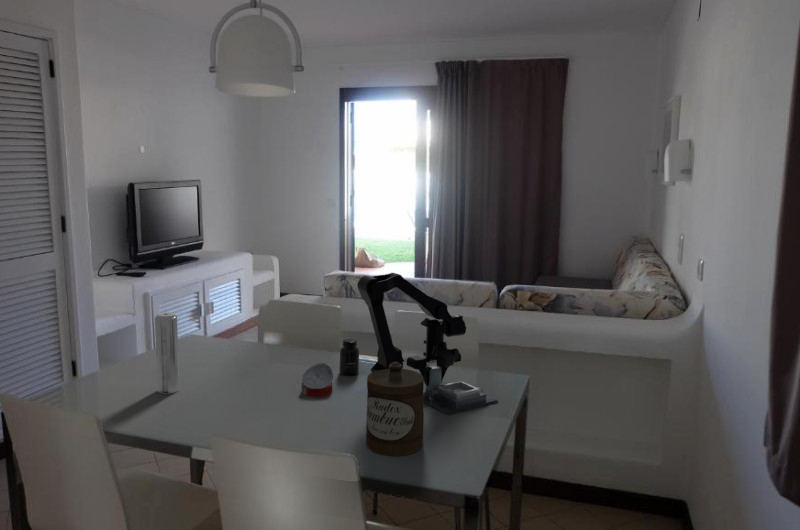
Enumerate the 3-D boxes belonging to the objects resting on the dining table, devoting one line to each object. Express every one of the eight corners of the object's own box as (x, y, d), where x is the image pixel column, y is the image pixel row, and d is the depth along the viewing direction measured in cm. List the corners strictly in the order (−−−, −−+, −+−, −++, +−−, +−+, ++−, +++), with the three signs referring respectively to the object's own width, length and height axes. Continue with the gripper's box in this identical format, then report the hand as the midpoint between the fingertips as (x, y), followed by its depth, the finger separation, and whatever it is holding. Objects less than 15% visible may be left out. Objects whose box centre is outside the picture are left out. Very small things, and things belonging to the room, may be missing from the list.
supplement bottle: (349, 377, 211) (350, 344, 209) (335, 373, 215) (335, 340, 213) (362, 372, 216) (363, 340, 214) (348, 368, 220) (348, 336, 218)
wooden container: (356, 450, 155) (357, 366, 152) (379, 428, 169) (380, 351, 166) (411, 460, 150) (413, 374, 147) (430, 437, 164) (432, 358, 161)
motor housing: (447, 414, 179) (448, 400, 179) (419, 400, 191) (419, 386, 190) (497, 402, 191) (498, 388, 190) (468, 388, 202) (469, 375, 201)
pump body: (431, 392, 198) (432, 371, 197) (422, 387, 202) (423, 367, 201) (444, 389, 201) (444, 369, 200) (434, 385, 205) (435, 364, 204)
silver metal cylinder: (183, 389, 196) (181, 313, 192) (168, 395, 190) (165, 317, 187) (168, 385, 199) (165, 310, 195) (152, 392, 193) (149, 314, 189)
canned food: (333, 404, 198) (345, 381, 195) (308, 409, 191) (320, 385, 187) (314, 381, 205) (326, 358, 201) (290, 385, 197) (301, 361, 194)
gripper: (426, 348, 187) (425, 397, 189) (473, 340, 198) (471, 386, 200) (406, 339, 196) (404, 386, 198) (451, 332, 207) (449, 376, 209)
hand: (433, 384), depth 201 cm, fingers closed on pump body, 5 cm apart
